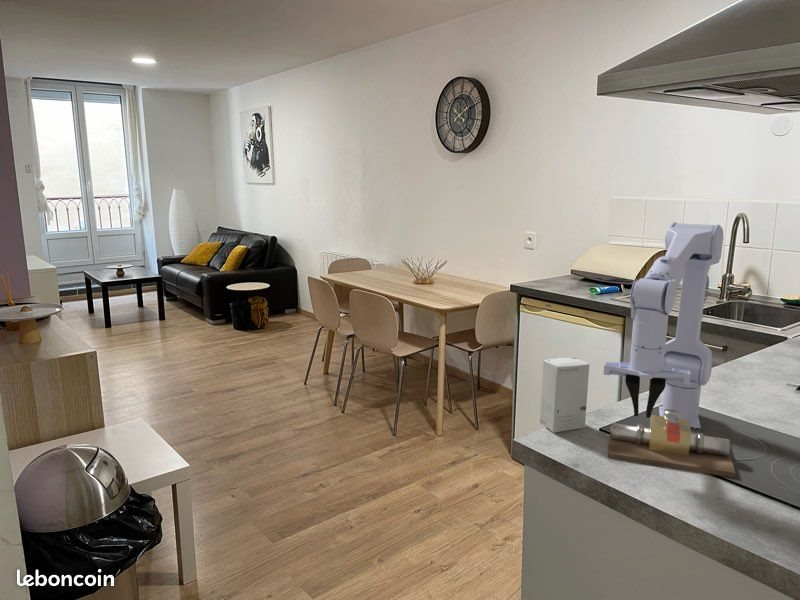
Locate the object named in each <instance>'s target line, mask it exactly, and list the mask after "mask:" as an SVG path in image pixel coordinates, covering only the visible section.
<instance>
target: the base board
mask: <svg viewBox="0 0 800 600" xmlns="http://www.w3.org/2000/svg"><path fill="white" fill-rule="evenodd" d="M612 432H613V423H612V424H610V431H609V440H608V446H607V447H608V449H607V458H608V459H615V460H621V461H626V462H627V461H628V462H634V463H640V464H644V465H651V466H656V467H657V466H658V467H663V468H670V469H677V470H682V471H683V470H684V471H689V472H695V473H696V472H697V473H701V474H707V475H708V474H709V475H713V476H714V475H715V476H719V475H722V476H721V477H725V476H727V478H731V477H734V478H733V479H735V478H736V470H735V466H734V464H733V460H732V456H731V454H730V452H729V456H723V455H716V454H709V453H702V454H697V453H696V451H689V456H683V455H677V454H670V453H664V452H657V451H651V450H649V444H642V443H641V445H637V444H636V442H629V441H622V440H616V439H612Z"/></svg>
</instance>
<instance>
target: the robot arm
mask: <svg viewBox="0 0 800 600" xmlns="http://www.w3.org/2000/svg"><path fill="white" fill-rule="evenodd" d="M723 243H724V229H723V227H722V226H721V224H715V225H714V224H697V223H677V222H671V223H670V225H669V226H668V227H667V229H666V233H665V237H664V246H665V249H666V252H665V254H664V255H662V256H659V257H658V258H656V259H655V261H654V262H653V264H652V265H651V267H650V268H649V270H648V271H647V273H646V274H645V275H644V277H642V278H641V277H640V278H639V279H638V280H635V281H634V282H633V284H632V286H631V288H630V292H629V293H630V295H629V306H630V318H631V319H632V330H631V345H630V357H629V362H611V361H610V362H609V361H604V365H603V376H610V375H614V376H623V377H625V380H624V381H625V382H624V383H625V385H626V387H627V389H628V392H629V396H630V398H631V402H632V406H633V407H632V408H633V416H635V417H639V409H640V407H639V398H640V388H641V387H640V385H641V383H640V381H641V379H649V387H648V388H649V389H648V391H649V392H648V398H647V403H646V409H645V412H646V413H645V418H648V419H650V418H651V415H652V412H653V409H654V407H655V405H656V402H657V401H658V400H659V397H660V396H661V394H662V393H663V399H662V405H661V406H659V407H658V412H659V416H663V417H664V410H666V409H672V410H676V411H678V412H679V415H678V419H686V420H689V424H690V427H694V428H693V429H696V428H699V429H698V430H700V429H701V423H700V418H699V407H700V399H701V390H702V389H701V388H702V386H705V385H707V384H708V382H710V379H711V376H712V375H711V374H712V368H713V361H712V360H713V359H712V356H713V353H712V350H711V349H710V348H709V347H708V346H707V345H706V344H705V343H704V342H703V341H701V339H700V337H701V329H702V320H703V313H704V307H705V306H704V305H705V297H706V296H705V295H706V290H707V284H708V283H707V282H708V274H709V271H710V268H711V266H713V265H716V264H719V263H720V259H721V258H722V253H723V252H722V251H723ZM681 282H682V283H681ZM680 283H681V290H680V297H679V298H680V299H679V300H680V301H679V304H678V306H679V307H678V313H677V314H678V315H677V322H676V332H675V337H674V338H672V339H670V340H668V341H667V334H668V323H669V314H670V313H671V312H672V311H673V307H674V305H675V300H676V297H677V292H678V291H677V289H678V287H679V285H680Z"/></svg>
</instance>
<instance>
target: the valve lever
mask: <svg viewBox="0 0 800 600" xmlns="http://www.w3.org/2000/svg"><path fill="white" fill-rule="evenodd" d="M678 415H679V412H678V411H676V410H672V409H666V410H664V419H666V420H667V427H666V433H667V441H668V442H675V443H680V429H679V423H676V421H677V420H678Z"/></svg>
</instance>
